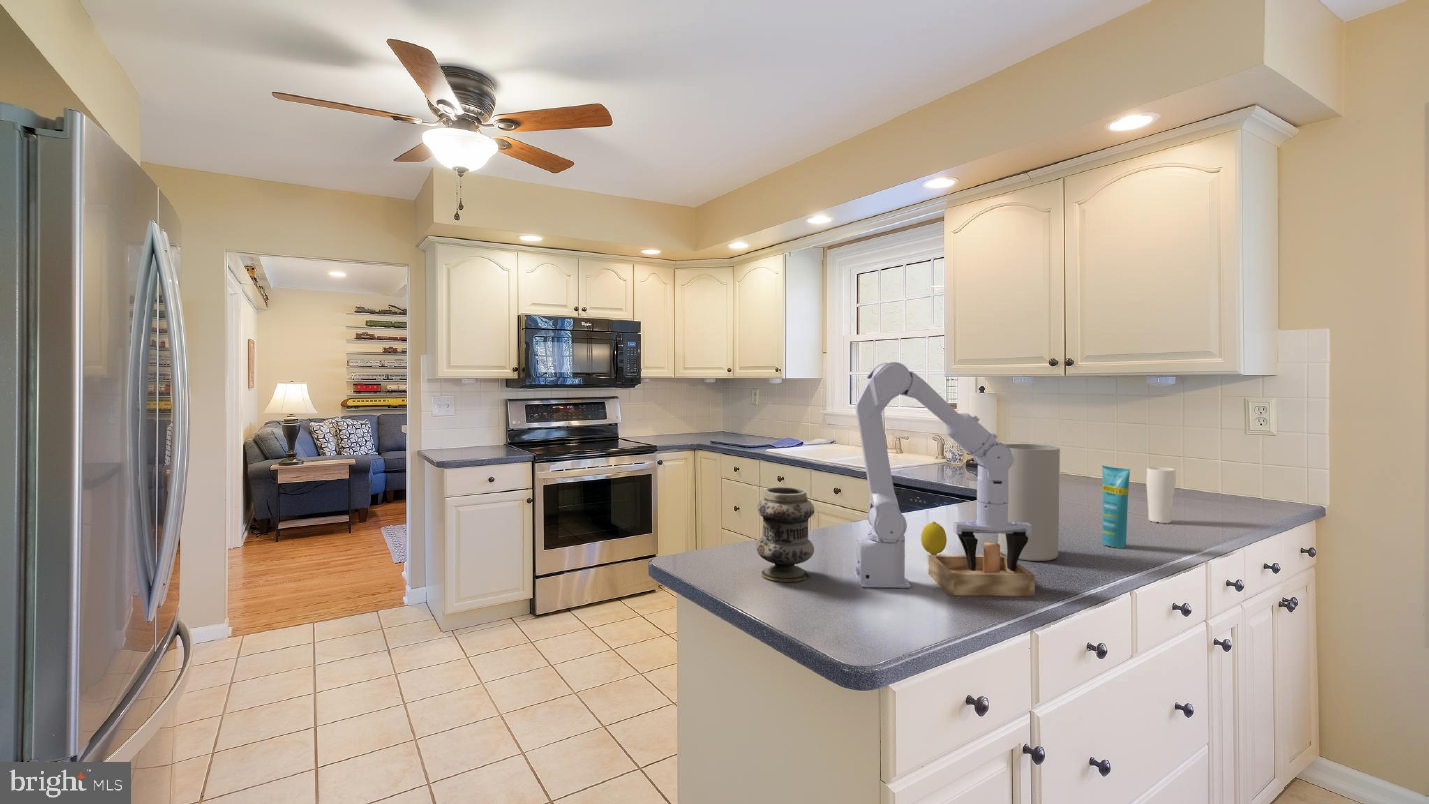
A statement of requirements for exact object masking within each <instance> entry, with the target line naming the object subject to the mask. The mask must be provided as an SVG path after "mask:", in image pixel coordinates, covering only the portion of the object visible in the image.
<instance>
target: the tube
mask: <svg viewBox="0 0 1429 804" xmlns="http://www.w3.org/2000/svg"><path fill="white" fill-rule="evenodd" d="M1101 467H1102V469H1101V470H1102V471H1101V472H1102V540H1101V541H1102V545H1103V544H1104V545H1103V546H1105V545H1108V546H1111V547H1110V548H1113V547H1116V548H1115V549H1123V548H1126V547H1127V535H1128V534H1127V530H1128V529H1127V528H1128V508H1129V507H1128V505H1129V488H1130V486H1129V485H1130V473H1131V468H1126V467H1125V468H1123V467H1115V466H1113V467H1112V466H1108V465H1103V464H1102V465H1101ZM1108 546H1107V547H1108Z"/></svg>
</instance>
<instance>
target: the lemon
mask: <svg viewBox="0 0 1429 804" xmlns="http://www.w3.org/2000/svg"><path fill="white" fill-rule="evenodd" d="M920 536H921V537H920V540H921V546H922V547H923V549H924V550H925V551H926V552H927V553H929V555H939V554H940V553H942V552H943V551H944V550H945V549H946V547H947V541H948V540H947V534H946V530H945V528H944V527H943V526H942V525H940V524H939V523H938V522H936V521H931V522H930V523H928V524H926V525H925V526H924V527H923V529H922V531H921V535H920Z"/></svg>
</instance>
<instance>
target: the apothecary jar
mask: <svg viewBox="0 0 1429 804" xmlns="http://www.w3.org/2000/svg"><path fill="white" fill-rule="evenodd" d="M756 509H757V513H758V514H759V516H760V517H762V536H761V538H759V540H758V541H757V543H756V545H755V546H756V549H755V550H756V553H757V555H759V557H761V559H763V560H765V561H766V562H768V563H771V564H774V565H770V566H769V567H765V568H764V569H763V570H762V571H761V576H762V577H763V578H764V579H766V580H769V581H771V582H772V581H773V582H779V583H797V582H802V581H804V580H807V577H809V576H810V574H809V572H808V571H807V570H806V569H803V568H802V567H800V566H798V565H799V564H803V563H804V562H806V561H808V560H809V559H810V558H811V557H812V556H813V555H814V552H815V546H814V544H813V543H812V541H811V540H810V539H809V519H810V518H812V516H813V515H814V513H815V507H814V504H813V502H811V501H810V500H809V499H808V494H807V491H806V489H804V488H801V487H795V486H794V487H793V486H772V487H768V488H766V489H765V494H764V496H763V498H762V499H761V500H760V501H759V502H758V504H757V507H756Z"/></svg>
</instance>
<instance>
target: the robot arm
mask: <svg viewBox="0 0 1429 804" xmlns="http://www.w3.org/2000/svg"><path fill="white" fill-rule="evenodd" d="M899 395H900V396H902V397H903V396H904V397H908V398H912V399H915V400H917V402H919V403H920V404H921V405H923V406H924V407H925V408H926V409H927V410H928V411H929V412H930V413H931V414H933V415H934V416H935V417H937V418H938V419H939V420H940V421H941V422H943V424H945V425H946V434H947V436H948V437H949V438H950V439H952V440H953V441H954V442H955V443H957V445H958V446H960V447H961V448H962V449H963V450H964V451H965V452H966V453H967V454H969V456H972V458H973V461H974V463H976V464H977V478H976V520H972V521H971V520H970V521H960V522H957V521H956V522H955V521H954V522H952V523H953V529H952V531H953V533H955V534H956V535H957V537H958V539H959V542H960V543H961V545H962V548H963V550H964V555H966V558H967V562H968V568H969V569H970V570H971V571H975V570H976V555H977V547H978V540H979V539H978V538H977V537H976V534H998V533H1005V534H1006V541H1007V568H1008V569H1009V570H1011V571H1015V568H1016V565H1017V563H1018V560H1019V559H1018V558H1019V556H1020V554H1021V552H1022V550H1023V548H1024V547H1025V545H1026V544H1027V542H1028V537H1027V536H1026V534H1027V535H1031V532H1032V525H1031V524H1029V523H1020V522H1008V493H1009V479H1008V473H1009V469H1010V468H1011V466H1012V465H1013V463H1014V457H1013V456H1012V454H1011V450H1010V448H1009V447H1008V446H1007V445H1005V444H1006V443H1004V442H1003V443H1002V442H999V441H997V438H998V436H997V434H996V433H994V432H990V431H989V430H987V428H986V427H984V426H983V425H982V424H981V423H980V422H979V421H980V418H979V417H978V416H977V415H975V414H972V415H970V413H968V412H961V413H959V412H958V411H956V409H954V408H953V406H952V405H950V404H949V403H948V402H947V400H945V399H944V398H943V397H942V396H941V395H940V394H939V393H938V392H937V391H936V390H935V389H933V388H932V386H930V384H928V383H927V382H926V381H925V380H924V379H923V378H922V377H921V376H919V375H918V374H917V373H916V372H914V371H911V370H909V369H908V367H907V366H906V365H905V364H903V363H901V362H897V361H891V362H883V363H880V364H878V365H877V366H875V367H874V369H872V370H871V372H869V374H868V375H867V376H866V378H865V382H864V384H863V386H862V389H861V391H860V393H859V395H858V397H857V400H856V402H855V414H856V420H857V427H858V431H859V432H858V433H859V438H860V442H861V443H860V444H861V450H862V454H863V460H864V466H865V471H866V479H867V484H868V491H869V493H868V499H869V507H868V511H867V521H868V524H869V525H870V526H871V527H872V528H870V530H869V532H868V533H867V536H866V537H860V538H857V539H856V543H855V544H856V545H855V577H856V579H857V581H858V582H859V584H860V585H861V587H862V588H898V589H899V588H900V589H901V588H903V589H905V588H907V589H909V588H911V587H912V585H911V583H909V581H908V580H907V578H906V577H905V574H906V572H905V571H906V570H905V569H906V565H905V564H906V563H905V562H906V561H905V560H906V558H905V557H906V554H905V553H906V536H905V534H906V531H907V528H908V524H907V523H908V522H907V520H906V518H905V516H904V514H903V513H902V511H901V510H900V506H899V502H898V498H897V496H896V492H895V489H894V488H895V487H894V483H893V476H892V471H891V463H890V459H889V453H888V447H887V441H886V434H885V430H884V429H885V428H884V424H883V423H884V422H883V417H882V411H884V409H885V408H886V407H887V406H888V405H889V404H890V403H891V401H892V400H894V399H895V398H896V397H898V396H899Z"/></svg>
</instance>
